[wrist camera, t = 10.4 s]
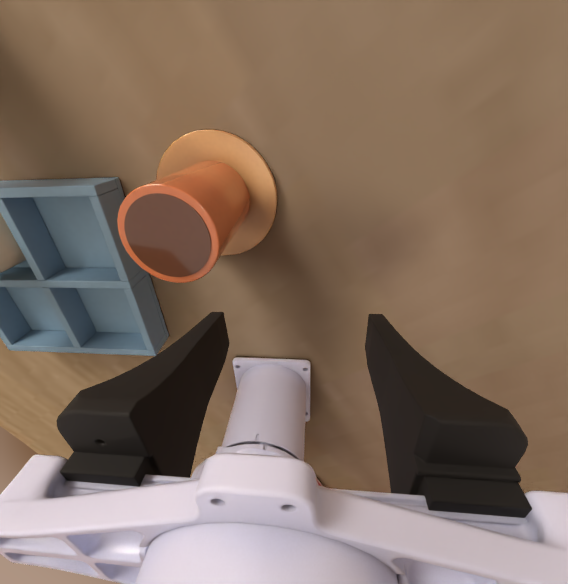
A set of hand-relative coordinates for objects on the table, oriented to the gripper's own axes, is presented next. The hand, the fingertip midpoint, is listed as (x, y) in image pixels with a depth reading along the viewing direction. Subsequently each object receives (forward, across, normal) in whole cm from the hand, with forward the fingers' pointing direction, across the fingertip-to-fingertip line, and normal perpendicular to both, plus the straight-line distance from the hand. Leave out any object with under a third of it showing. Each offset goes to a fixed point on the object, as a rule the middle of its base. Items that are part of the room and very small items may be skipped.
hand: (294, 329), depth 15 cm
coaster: (+10, +6, -4) cm, 13 cm away
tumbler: (+10, +6, -4) cm, 12 cm away
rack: (+10, +21, +2) cm, 24 cm away
